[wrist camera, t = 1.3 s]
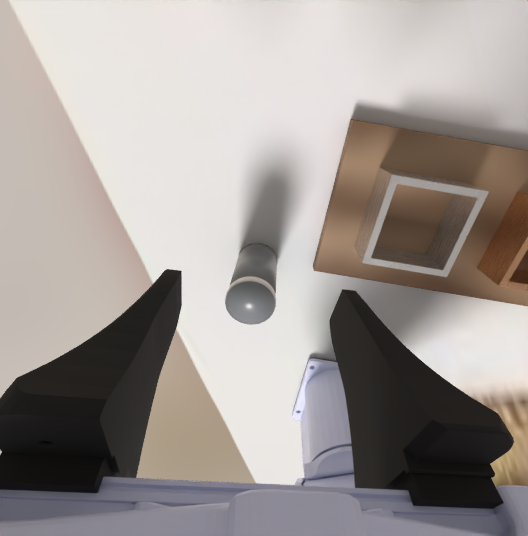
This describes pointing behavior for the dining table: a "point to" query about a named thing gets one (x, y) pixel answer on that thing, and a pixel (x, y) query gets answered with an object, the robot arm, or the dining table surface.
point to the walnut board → (420, 206)
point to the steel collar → (446, 237)
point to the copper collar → (509, 247)
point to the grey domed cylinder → (253, 285)
